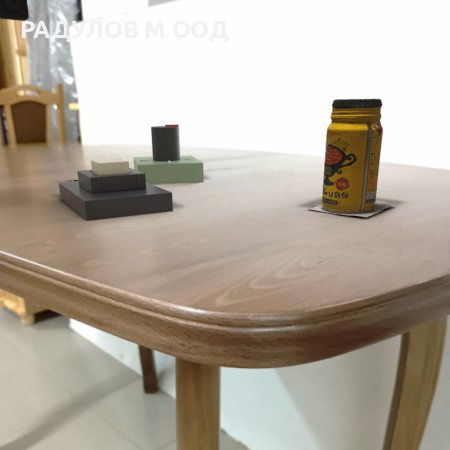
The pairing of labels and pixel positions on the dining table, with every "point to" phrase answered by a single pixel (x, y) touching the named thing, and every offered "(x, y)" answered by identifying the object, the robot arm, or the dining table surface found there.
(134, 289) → the dining table surface
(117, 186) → the tiered dark pedestal
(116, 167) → the white key
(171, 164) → the panel
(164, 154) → the volume knob
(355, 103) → the condiment
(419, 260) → the dining table surface
